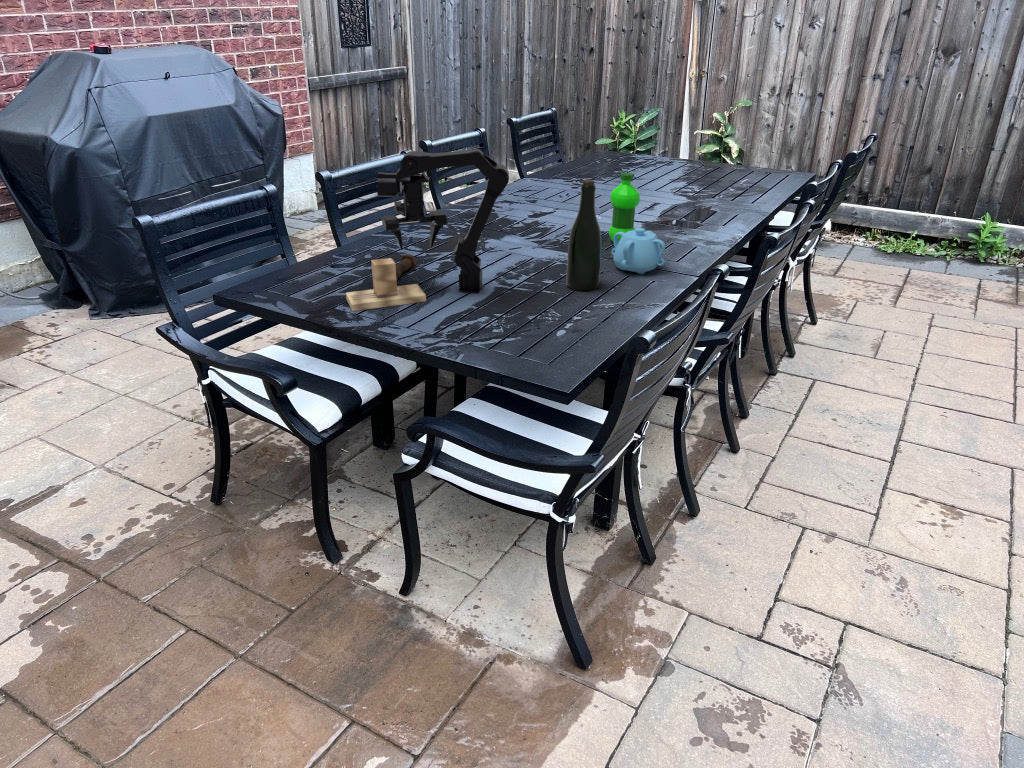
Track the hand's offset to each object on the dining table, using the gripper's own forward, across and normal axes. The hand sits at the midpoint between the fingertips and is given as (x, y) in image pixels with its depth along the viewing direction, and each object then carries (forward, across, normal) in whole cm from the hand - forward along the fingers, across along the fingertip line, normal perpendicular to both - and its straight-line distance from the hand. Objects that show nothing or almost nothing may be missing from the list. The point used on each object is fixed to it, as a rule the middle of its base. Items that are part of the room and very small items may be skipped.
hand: (416, 248), depth 225 cm
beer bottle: (+13, -49, +15) cm, 53 cm away
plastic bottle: (+13, -82, -19) cm, 85 cm away
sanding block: (+11, +12, +6) cm, 17 cm away
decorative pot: (+13, -74, +6) cm, 75 cm away
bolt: (+13, +3, -14) cm, 19 cm away
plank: (+13, +12, +6) cm, 18 cm away
